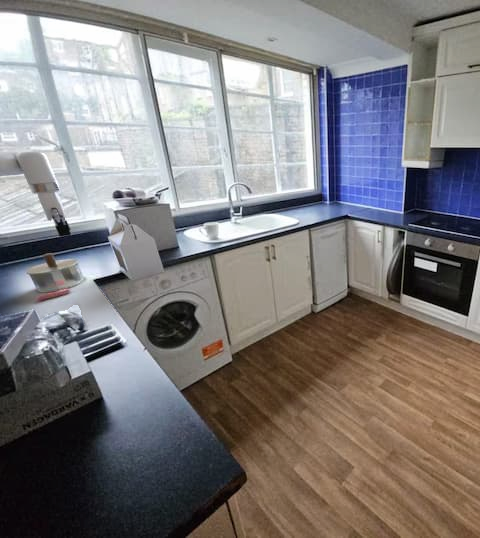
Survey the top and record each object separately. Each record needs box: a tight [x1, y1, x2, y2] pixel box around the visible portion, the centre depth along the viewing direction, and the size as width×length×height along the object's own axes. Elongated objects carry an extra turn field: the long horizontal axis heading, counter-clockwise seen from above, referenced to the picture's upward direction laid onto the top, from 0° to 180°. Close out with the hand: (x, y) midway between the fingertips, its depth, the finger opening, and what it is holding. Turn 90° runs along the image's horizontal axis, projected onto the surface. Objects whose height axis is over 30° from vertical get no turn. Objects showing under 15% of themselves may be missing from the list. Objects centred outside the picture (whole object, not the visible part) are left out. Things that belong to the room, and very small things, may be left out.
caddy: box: [28, 263, 85, 293], centre depth 132 cm, size 16×16×8 cm
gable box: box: [107, 213, 165, 282], centre depth 140 cm, size 22×13×28 cm, turn 49°
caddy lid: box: [25, 252, 79, 276], centre depth 129 cm, size 17×17×7 cm
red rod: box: [36, 288, 71, 302], centre depth 122 cm, size 10×2×2 cm, turn 139°
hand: (65, 233), depth 114 cm, fingers open, 9 cm apart
